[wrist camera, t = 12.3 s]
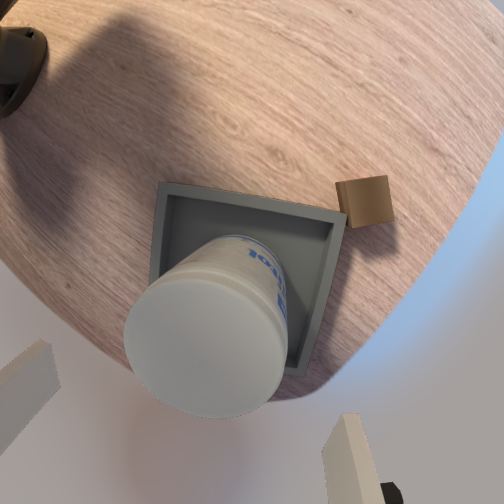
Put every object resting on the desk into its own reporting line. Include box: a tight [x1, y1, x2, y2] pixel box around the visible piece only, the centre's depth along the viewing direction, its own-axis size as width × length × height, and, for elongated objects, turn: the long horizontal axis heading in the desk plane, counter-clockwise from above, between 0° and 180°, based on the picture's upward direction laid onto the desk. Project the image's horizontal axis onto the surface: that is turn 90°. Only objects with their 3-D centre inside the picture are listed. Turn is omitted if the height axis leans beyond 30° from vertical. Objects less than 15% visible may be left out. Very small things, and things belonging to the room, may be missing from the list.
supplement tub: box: [124, 235, 288, 419], centre depth 22 cm, size 10×10×15 cm
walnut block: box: [335, 175, 394, 228], centre depth 25 cm, size 4×4×4 cm
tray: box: [149, 182, 347, 377], centre depth 28 cm, size 17×17×3 cm
